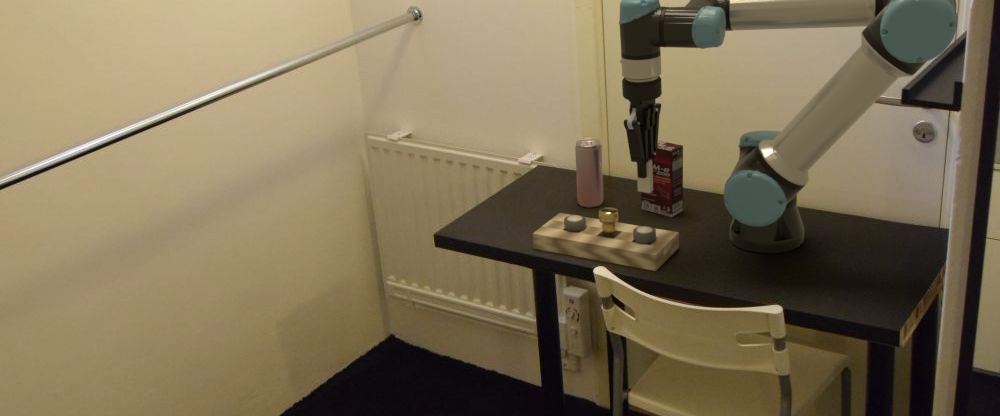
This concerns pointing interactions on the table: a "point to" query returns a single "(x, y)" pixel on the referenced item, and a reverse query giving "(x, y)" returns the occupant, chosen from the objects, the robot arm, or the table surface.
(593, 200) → the beverage can
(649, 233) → the knob near
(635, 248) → the board
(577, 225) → the knob far
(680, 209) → the supplement box
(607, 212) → the pot knob
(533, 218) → the table surface
